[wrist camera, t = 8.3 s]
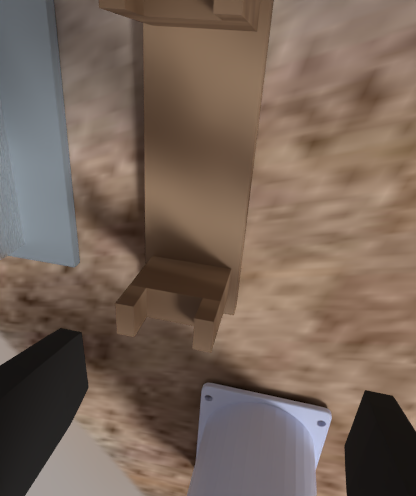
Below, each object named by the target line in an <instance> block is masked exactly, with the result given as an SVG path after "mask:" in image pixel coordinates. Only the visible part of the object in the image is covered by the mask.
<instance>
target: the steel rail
mask: <svg viewBox="0 0 416 496" xmlns="http://www.w3.org/2000/svg"><path fill="white" fill-rule="evenodd" d="M24 245H25V240H24V234H23V228H22V222H21V216H20V211H19V205H18V199H17V193H16V187H15V181H14V175H13V170H12V164H11V158H10V152H9V146H8V140H7V134H6V129H5V123H4V117H3V111H2V105H1V99H0V260H1V259H3V258H5V257H6V256H8V255H9V254H11V253H12V252H14V251H16V250H17V249H19V248H20V247H22V246H24Z"/></svg>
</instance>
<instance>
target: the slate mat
mask: <svg viewBox="0 0 416 496" xmlns="http://www.w3.org/2000/svg"><path fill="white" fill-rule="evenodd" d="M0 99H1V105H2V111H3V117H4V123H5V129H6V134H7V140H8V146H9V152H10V158H11V164H12V170H13V175H14V181H15V187H16V193H17V199H18V205H19V211H20V216H21V222H22V228H23V234H24V240H25V245H24V246H22V247H20V248H19V249H17V250H16V251H14V252H12V253H11V254H9V255H8V256H13V257H19V258H25V259H30V260H36V261H42V262H47V263H53V264H59V265H64V266H70V267H75V266H77V265H78V264H79V263H80V259H79V249H78V239H77V229H76V219H75V209H74V199H73V189H72V179H71V169H70V159H69V149H68V139H67V129H66V119H65V109H64V99H63V89H62V79H61V69H60V59H59V49H58V39H57V29H56V19H55V9H54V0H0Z"/></svg>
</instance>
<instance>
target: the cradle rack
mask: <svg viewBox="0 0 416 496" xmlns="http://www.w3.org/2000/svg"><path fill="white" fill-rule="evenodd" d="M273 1H274V0H99V8H101V9H104V10H107V11H110V12H113V13H116V14H119V15H122V16H125V17H128V18H131V19H134V20H137V21H140V22H143V66H144V164H145V263H146V265H145V266H144V268H143V269H142V270H141V271H140V273H139V274H138V275H137V276H136V278H135V279H134V280H133V281H132V283H131V284H130V285H129V287H128V288H127V289H126V290H125V292H124V293H123V294H122V295H121V297H120V298H119V299H118V300H117V302H116V303H115V308H116V326H117V334H121V335H126V336H131V337H135V335H136V334H137V332H138V330H139V329H140V327H141V325H142V324H143V322H144V321H145V319H146V317H150V318H155V319H160V320H165V321H170V322H176V323H181V324H186V325H191V326H194V331H193V348H192V349H194V350H199V351H204V352H209V353H211V351H212V348H213V345H214V341H215V338H216V335H217V332H218V328H219V325H220V322H221V318H222V315H223V313H224V314H229V315H234V313H235V309H236V305H237V297H238V289H239V281H240V272H241V264H242V256H243V248H244V240H245V231H246V223H247V215H248V207H249V198H250V190H251V182H252V174H253V166H254V157H255V149H256V141H257V133H258V125H259V116H260V108H261V100H262V92H263V84H264V75H265V67H266V59H267V51H268V43H269V34H270V26H271V18H272V10H273Z"/></svg>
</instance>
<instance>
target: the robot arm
mask: <svg viewBox="0 0 416 496" xmlns="http://www.w3.org/2000/svg"><path fill="white" fill-rule="evenodd" d="M87 390H88V380H87V372H86V364H85V356H84V348H83V340H82V332H77V331H72V330H67V329H63V328H60V329H58V330H57V331H55V332H53V333H52V334H50V335H48V336H47V337H45V338H44V339H42V340H40V341H39V342H37V343H36V344H34V345H32V346H31V347H29V348H28V349H26V350H24V351H23V352H21V353H20V354H18V355H16V356H15V357H13V358H12V359H10V360H9V361H7V362H5V363H4V364H2V365H0V496H25V495H26V493H27V492H28V490H29V488H30V487H31V485H32V484H33V482H34V481H35V479H36V478H37V476H38V475H39V473H40V471H41V470H42V468H43V467H44V465H45V464H46V462H47V461H48V459H49V457H50V456H51V454H52V453H53V451H54V449H55V448H56V446H57V445H58V443H59V442H60V440H61V439H62V437H63V435H64V434H65V432H66V431H67V429H68V427H69V426H70V424H71V422H72V420H73V418H74V416H75V414H76V412H77V410H78V408H79V406H80V404H81V402H82V400H83V398H84V396H85V394H86V392H87ZM208 395H209V396H208ZM331 419H332V417H331V412H330V410H329V409H327V408H325V407H320V406H316V405H311V404H307V403H302V402H297V401H293V400H288V399H284V398H279V397H274V396H270V395H265V394H261V393H256V392H251V391H247V390H242V389H238V388H233V387H228V386H224V385H219V384H215V383H205V384H204V385H203V387H202V391H201V404H200V416H199V428H198V441H197V453H196V463H195V466H194V470H193V474H192V478H191V482H190V486H189V490H188V493H187V496H317V491H316V467H317V464H318V461H319V458H320V454H321V451H322V448H323V445H324V442H325V438H326V435H327V432H328V429H329V426H330V422H331ZM320 420H321V421H320ZM345 472H346V489H347V496H416V431H415V430H414V428H413V426H412V425H411V423H410V422H409V420H408V419H407V417H406V415H405V414H404V412H403V411H402V409H401V407H400V406H399V404H398V403H397V401H396V400H395V398H394V397H393V396H391V395H386V394H381V393H376V392H371V391H366V390H365V392H364V394H363V397H362V400H361V403H360V405H359V408H358V411H357V414H356V416H355V419H354V422H353V424H352V427H351V430H350V433H349V435H348V438H347V441H346V443H345Z"/></svg>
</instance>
